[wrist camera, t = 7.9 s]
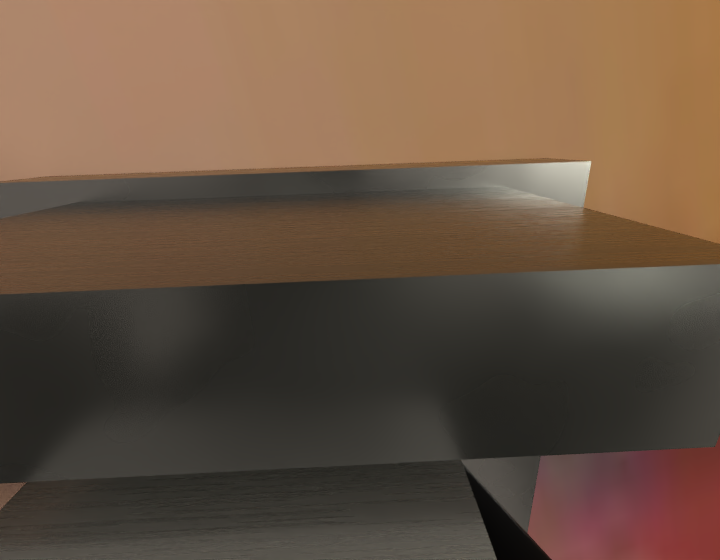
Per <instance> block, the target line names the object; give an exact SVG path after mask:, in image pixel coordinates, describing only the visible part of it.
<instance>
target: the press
mask: <svg viewBox="0 0 720 560" xmlns="http://www.w3.org/2000/svg"><path fill="white" fill-rule="evenodd" d="M590 166H591V161H580V160H565V159H551V158H543V159H515V160H488V161H460V162H433V163H406V164H378V165H351V166H323V167H296V168H269V169H241V170H214V171H186V172H159V173H132V174H104V175H77V176H49V177H38V178H29V179H19V180H10V181H0V483H18V482H38V481H57V480H77V479H96V478H116V477H135V476H155V475H174V474H194V473H213V472H233V471H252V470H272V469H291V468H311V467H330V466H350V465H369V464H389V463H408V462H428V461H447V460H461V461H462V463H463V464H464V465H465V466H466V467H467V469H468V470H469V471H470V472H471V473H472V474H473V475H474V476H475V477H476V478H477V479H478V480H479V482H480V483H481V484H482V485H483V486H484V487H485V488H486V489H487V490H488V491H489V492H490V493H491V495H492V496H493V497H494V498H495V499H496V500H497V501H498V502H499V503H500V504H501V505H502V507H503V508H504V509H505V510H506V511H507V512H508V513H509V514H510V515H511V516H512V517H513V518H514V520H515V521H516V522H517V523H518V524H519V525H520V526H521V527H522V528H523V529H524V530H525V531H526V533H527V531H528V525H529V520H530V514H531V508H532V502H533V496H534V491H535V485H536V479H537V473H538V467H539V462H540V456H545V455H564V454H584V453H603V452H623V451H642V450H662V449H681V448H701V447H715V445H716V443H717V440H718V437H719V435H720V244H718V243H714V242H710V241H707V240H703V239H699V238H695V237H692V236H688V235H684V234H680V233H677V232H673V231H669V230H665V229H662V228H658V227H654V226H650V225H647V224H643V223H639V222H635V221H631V220H628V219H624V218H620V217H616V216H613V215H609V214H605V213H601V212H598V211H594V210H590V209H586V208H583V206H584V200H585V195H586V189H587V183H588V177H589V171H590Z"/></svg>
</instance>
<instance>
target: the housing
mask: <svg viewBox="0 0 720 560" xmlns="http://www.w3.org/2000/svg"><path fill="white" fill-rule="evenodd" d="M0 560H497V558H496V556H495V553H494V550H493V547H492V544H491V542H490V539H489V536H488V533H487V530H486V528H485V525H484V522H483V519H482V517H481V514H480V511H479V508H478V505H477V503H476V500H475V497H474V494H473V492H472V489H471V486H470V483H469V480H468V478H467V475H466V472H465V469H464V466H463V464H462V461H461V460H447V461H428V462H408V463H389V464H369V465H350V466H330V467H311V468H291V469H272V470H252V471H233V472H213V473H194V474H174V475H155V476H135V477H116V478H96V479H77V480H57V481H38V482H27V483H26V484H25V485H24V486H23V487H22V488H21V489H20V490H19V491H18V492H17V493H16V494H15V495H14V496H13V497H12V498H11V499H10V500H9V502H8V503H7V504H6V505H5V506H4V507H3V508H2V509H1V510H0Z"/></svg>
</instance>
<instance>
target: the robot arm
mask: <svg viewBox="0 0 720 560" xmlns="http://www.w3.org/2000/svg"><path fill="white" fill-rule="evenodd" d="M462 464H463V463H462ZM463 466H464V469H465V472H466V475H467V478H468V480H469V483H470V486H471V489H472V492H473V494H474V497H475V500H476V503H477V505H478V508H479V511H480V514H481V517H482V519H483V522H484V525H485V528H486V530H487V533H488V536H489V539H490V542H491V544H492V547H493V550H494V553H495V556H496V558H497V560H551V559H550V558H549V556H548V555H547V554H546V553H545V552H544V551H543V550H542V549H541V548H540V547H539V546H538V545H537V543H536V542H535V541H534V540H533V539H532V538H531V537H530V536H529V535H528V534H527V533H526V531H525V530H524V529H523V528H522V527H521V526H520V525H519V524H518V523H517V522H516V521H515V520H514V518H513V517H512V516H511V515H510V514H509V513H508V512H507V511H506V510H505V509H504V508H503V507H502V505H501V504H500V503H499V502H498V501H497V500H496V499H495V498H494V497H493V496H492V495H491V493H490V492H489V491H488V490H487V489H486V488H485V487H484V486H483V485H482V484H481V483H480V482H479V480H478V479H477V478H476V477H475V476H474V475H473V474H472V473H471V472H470V471H469V470H468V469H467V467H466V466H465V465H464V464H463Z"/></svg>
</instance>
